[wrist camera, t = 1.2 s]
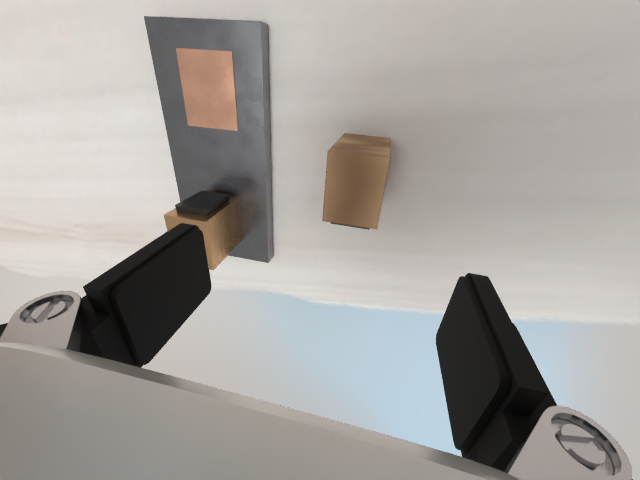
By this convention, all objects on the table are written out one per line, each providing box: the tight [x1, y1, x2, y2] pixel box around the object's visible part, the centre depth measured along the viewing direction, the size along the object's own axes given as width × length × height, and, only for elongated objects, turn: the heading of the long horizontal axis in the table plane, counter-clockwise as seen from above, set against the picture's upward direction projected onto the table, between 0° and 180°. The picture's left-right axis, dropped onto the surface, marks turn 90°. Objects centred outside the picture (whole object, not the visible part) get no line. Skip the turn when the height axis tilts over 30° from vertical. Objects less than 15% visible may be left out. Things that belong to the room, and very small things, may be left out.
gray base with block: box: [144, 16, 273, 270], centre depth 25 cm, size 10×22×8 cm, turn 176°
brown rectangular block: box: [322, 133, 390, 229], centre depth 22 cm, size 4×6×8 cm
